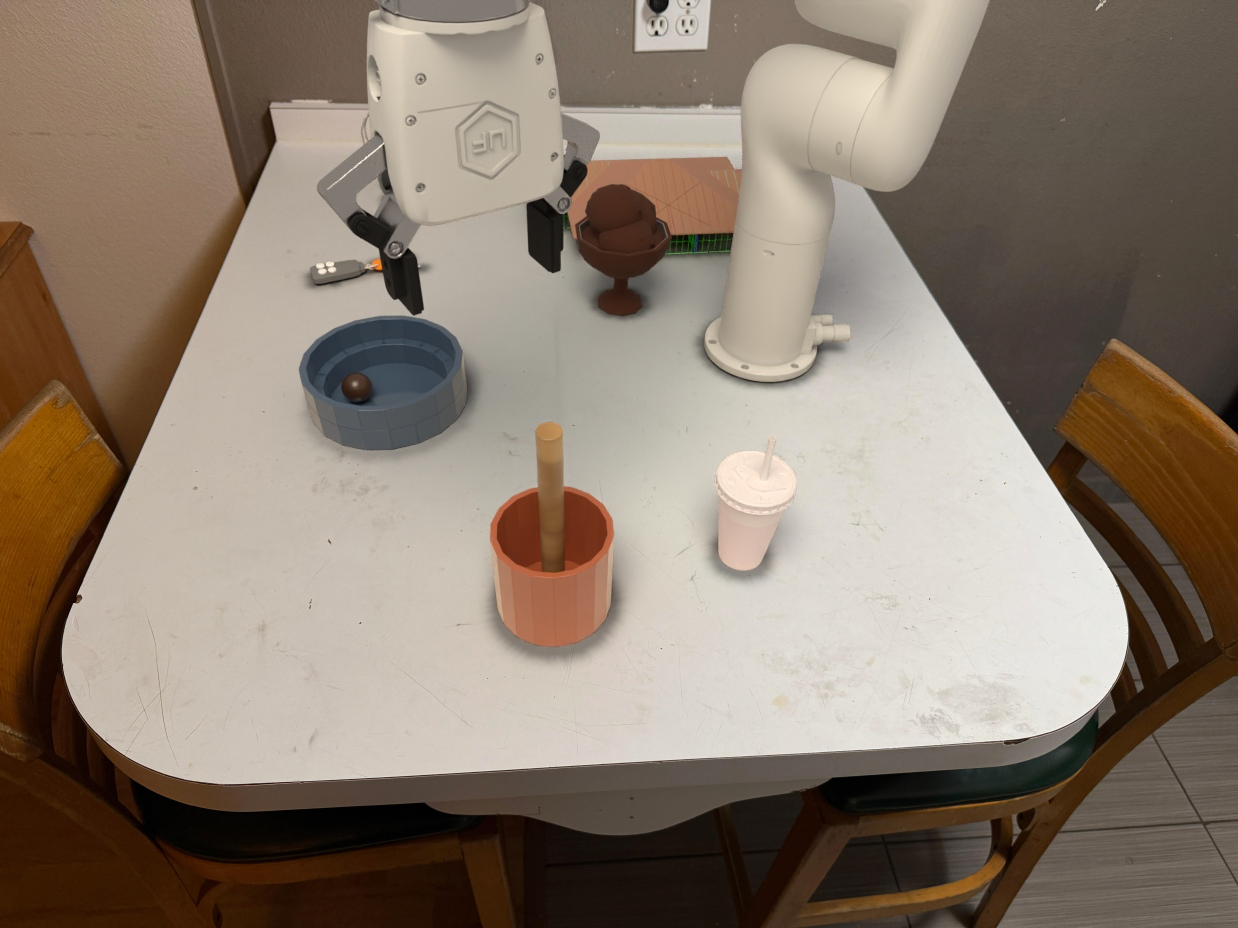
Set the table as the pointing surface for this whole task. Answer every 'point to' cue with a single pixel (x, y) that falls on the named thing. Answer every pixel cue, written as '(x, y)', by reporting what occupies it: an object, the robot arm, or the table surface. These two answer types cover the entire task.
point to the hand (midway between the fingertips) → (479, 283)
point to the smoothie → (751, 504)
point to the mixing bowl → (385, 381)
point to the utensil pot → (552, 600)
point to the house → (671, 192)
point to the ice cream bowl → (621, 242)
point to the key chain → (341, 270)
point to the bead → (356, 387)
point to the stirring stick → (551, 495)
